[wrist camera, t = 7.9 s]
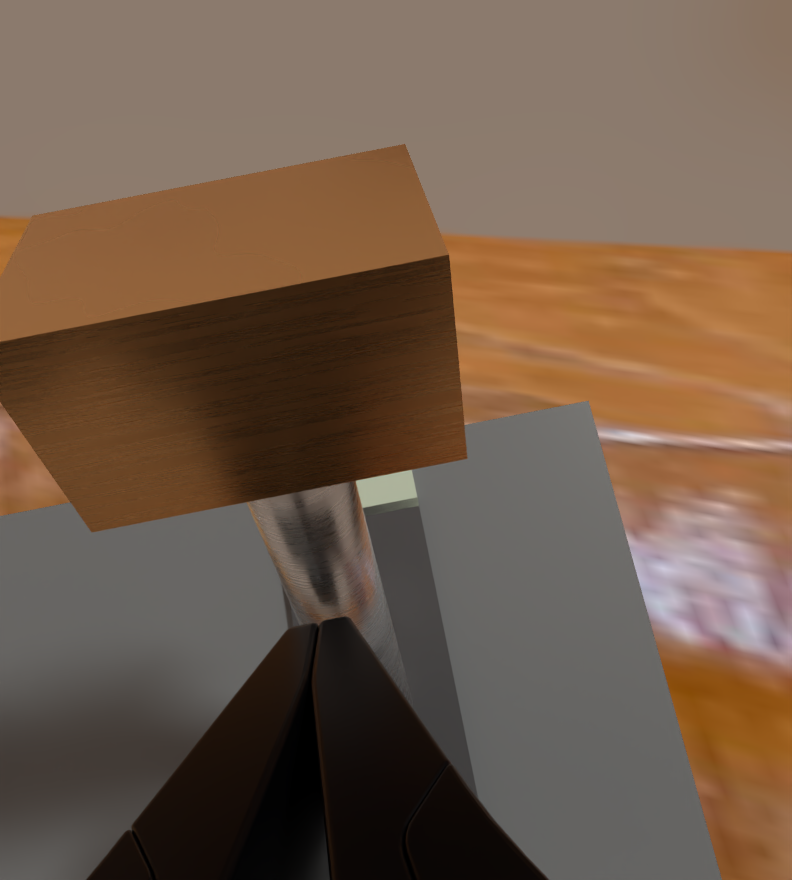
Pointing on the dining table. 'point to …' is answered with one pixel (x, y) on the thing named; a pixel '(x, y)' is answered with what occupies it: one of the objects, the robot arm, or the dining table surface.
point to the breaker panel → (419, 640)
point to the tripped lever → (244, 362)
